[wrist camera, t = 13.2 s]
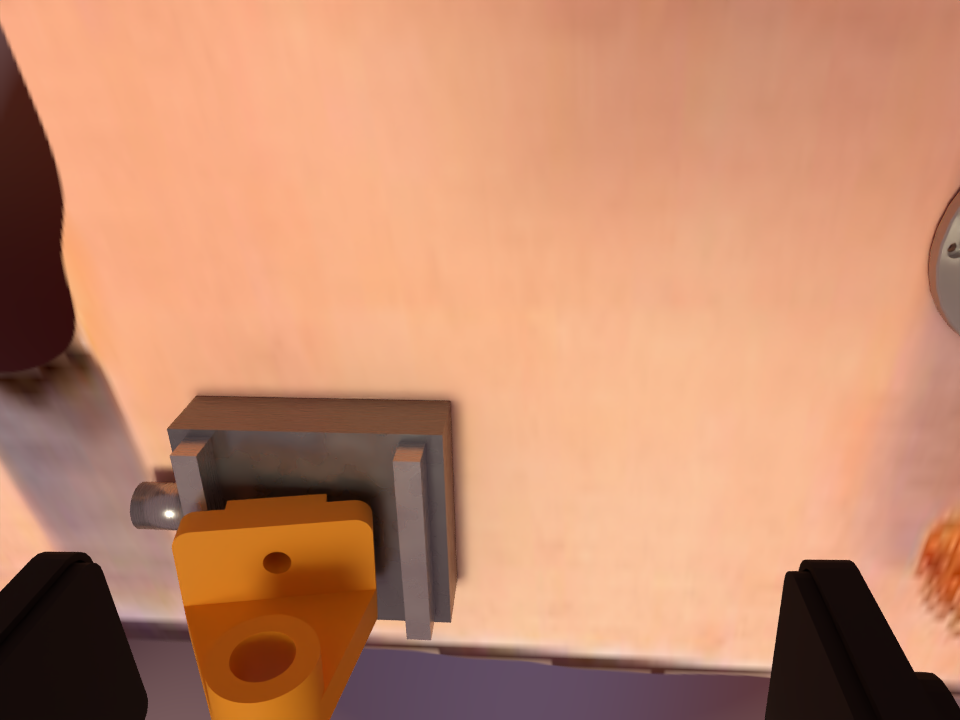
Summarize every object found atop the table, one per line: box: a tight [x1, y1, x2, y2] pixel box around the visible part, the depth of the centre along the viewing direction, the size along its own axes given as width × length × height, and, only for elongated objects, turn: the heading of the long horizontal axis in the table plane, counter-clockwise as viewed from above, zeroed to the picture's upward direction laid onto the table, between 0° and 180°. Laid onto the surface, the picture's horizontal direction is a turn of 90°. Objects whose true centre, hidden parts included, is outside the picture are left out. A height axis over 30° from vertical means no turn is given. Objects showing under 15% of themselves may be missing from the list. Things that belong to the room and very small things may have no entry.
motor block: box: [130, 396, 457, 640], centre depth 46 cm, size 20×14×6 cm
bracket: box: [172, 494, 378, 720], centre depth 39 cm, size 11×7×12 cm, turn 89°
